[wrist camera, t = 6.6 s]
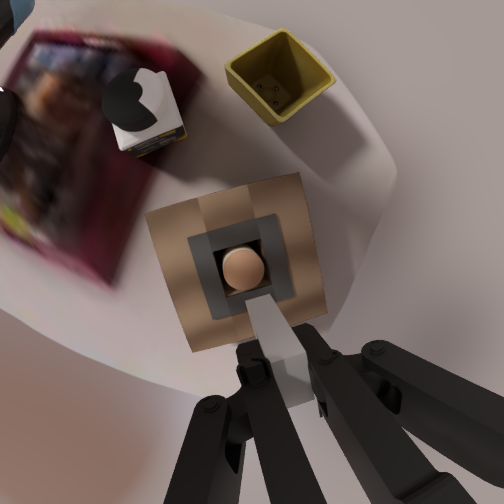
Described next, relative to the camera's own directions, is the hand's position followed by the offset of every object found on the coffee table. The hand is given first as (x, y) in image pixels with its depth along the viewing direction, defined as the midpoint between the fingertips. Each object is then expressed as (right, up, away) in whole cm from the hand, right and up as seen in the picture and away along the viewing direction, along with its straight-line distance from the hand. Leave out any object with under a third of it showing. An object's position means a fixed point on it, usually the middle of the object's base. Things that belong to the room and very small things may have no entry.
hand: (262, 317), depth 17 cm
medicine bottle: (-13, +20, +16) cm, 29 cm away
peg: (-3, +4, +19) cm, 20 cm away
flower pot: (+1, +24, +17) cm, 30 cm away
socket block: (-3, +4, +20) cm, 21 cm away
